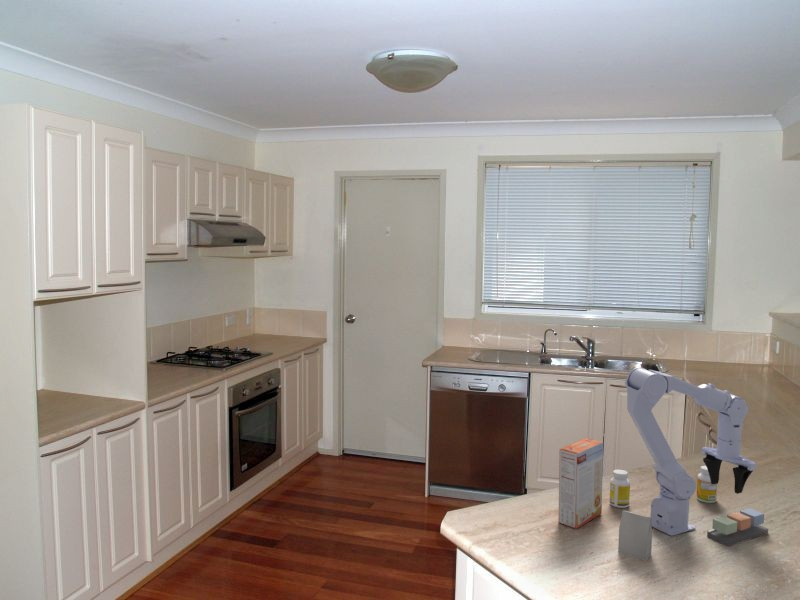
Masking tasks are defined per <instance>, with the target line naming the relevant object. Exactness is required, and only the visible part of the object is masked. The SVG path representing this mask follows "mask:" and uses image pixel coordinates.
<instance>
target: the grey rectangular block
mask: <svg viewBox="0 0 800 600" xmlns="http://www.w3.org/2000/svg"><path fill="white" fill-rule="evenodd" d="M620 516H621V517H620V522H619V529H618V545H617V552H618V553H620V554H623V555H626V556H630V557H632V558H636V559H639V560H642V561H645V562H646V561H648V559H649V558H650V557H651V556H652V546H653V544H652V543H653V542H652V541H653V529H652V528H653V527H652V526H651V517H650V516H647V515H642V514H639V513H636V512H631V511H629V510H625V509H623V510H622V511H621V515H620Z"/></svg>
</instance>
